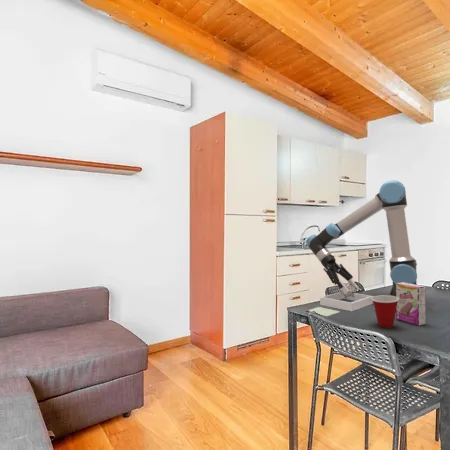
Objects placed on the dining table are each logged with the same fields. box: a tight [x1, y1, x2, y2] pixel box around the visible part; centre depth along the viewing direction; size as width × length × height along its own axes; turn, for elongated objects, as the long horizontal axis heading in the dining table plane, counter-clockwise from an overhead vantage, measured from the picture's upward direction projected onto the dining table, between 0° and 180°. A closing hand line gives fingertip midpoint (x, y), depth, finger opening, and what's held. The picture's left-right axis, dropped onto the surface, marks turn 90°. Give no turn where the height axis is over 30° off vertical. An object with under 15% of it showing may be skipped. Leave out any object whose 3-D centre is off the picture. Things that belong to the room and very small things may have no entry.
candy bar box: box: [395, 282, 427, 327], centre depth 150 cm, size 11×5×16 cm, turn 26°
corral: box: [319, 291, 374, 312], centre depth 182 cm, size 18×22×4 cm
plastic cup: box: [371, 294, 399, 329], centre depth 146 cm, size 11×11×12 cm
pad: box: [308, 306, 341, 317], centre depth 168 cm, size 12×11×1 cm
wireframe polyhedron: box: [337, 282, 357, 298], centre depth 183 cm, size 9×8×10 cm
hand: (352, 291), depth 180 cm, fingers closed on wireframe polyhedron, 8 cm apart
